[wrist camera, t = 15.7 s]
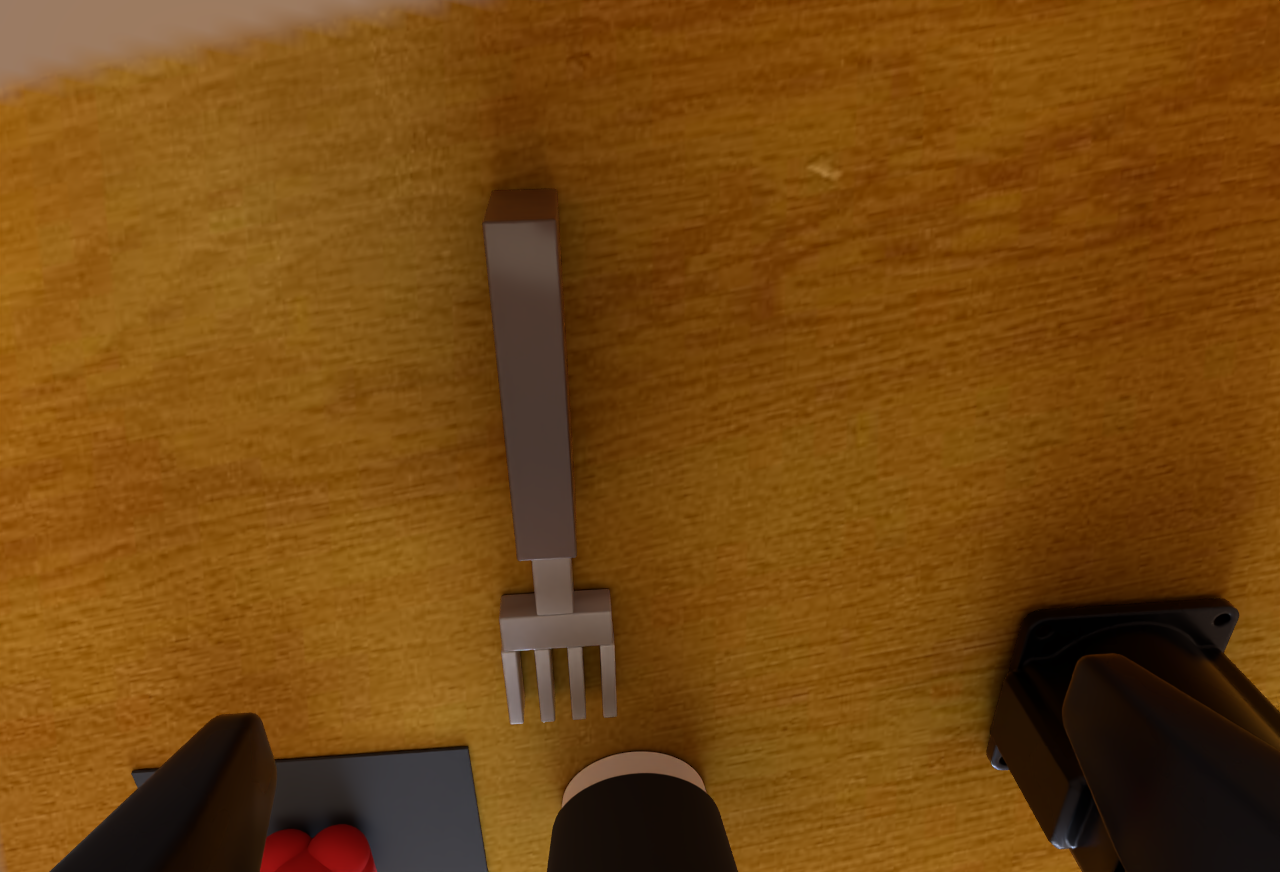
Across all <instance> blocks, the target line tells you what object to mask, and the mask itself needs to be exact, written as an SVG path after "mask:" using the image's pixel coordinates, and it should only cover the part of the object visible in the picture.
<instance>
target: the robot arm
mask: <svg viewBox="0 0 1280 872" xmlns="http://www.w3.org/2000/svg"><path fill="white" fill-rule="evenodd" d="M1238 618H1239V613H1238V610H1237V609H1236V608H1235V607H1234V606H1233V605H1232V604H1231V603H1230V602H1229V601H1227V600H1225V599H1221V598H1215V599H1200V600H1184V601H1169V602H1153V603H1138V604H1122V605H1107V606H1091V607H1076V608H1060V609H1045V610H1038V611H1034V612H1032V613H1030V614H1028V615H1027V616H1026V617H1025V618H1024V620H1023V622H1022V623H1021V627H1020V631H1019V634H1018V638H1017V642H1016V645H1015V649H1014V652H1013V656H1012V660H1011V663H1010V667H1009V671H1008V674H1007V676H1006V678H1005V679H1004V682H1003V686H1002V690H1001V693H1000V697H999V701H998V704H997V708H996V712H995V715H994V719H993V723H992V726H991V730H990V735H991V736H990V740H989V744H988V747H987V757H988V759H989V760H990V762H991V764H992V766H993V767H994V768H995V769H997V770H1010V772H1011V773H1012V775H1013V777H1014V779H1015V781H1016V782H1017V784H1018V786H1019V788H1020V790H1021V792H1022V793H1023V795H1024V797H1025V799H1026V801H1027V802H1028V804H1029V806H1030V808H1031V810H1032V811H1033V813H1034V815H1035V817H1036V819H1037V821H1038V822H1039V824H1040V826H1041V828H1042V830H1043V831H1044V833H1045V835H1046V837H1047V839H1048V840H1049V842H1051V843H1052V844H1053V845H1054V846H1055V847H1056V848H1058V849H1067V848H1069V850H1070V851H1071V853H1072V855H1073V857H1074V858H1075V860H1076V862H1077V864H1078V865H1079V867H1080V869H1081V871H1082V872H1280V712H1279V711H1278V710H1277V709H1276V708H1275V707H1274V706H1273V705H1272V704H1271V703H1270V702H1269V701H1268V699H1267V698H1266V697H1265V696H1264V695H1263V694H1262V693H1261V692H1260V691H1259V690H1258V689H1257V688H1256V687H1255V686H1254V685H1253V684H1252V683H1251V682H1250V681H1249V679H1248V678H1247V677H1246V676H1245V675H1244V674H1243V673H1242V672H1241V671H1240V670H1239V669H1238V668H1237V667H1236V666H1235V665H1234V664H1233V663H1232V662H1231V661H1230V659H1229V658H1228V657H1227V656H1226V655H1225V654H1224V650H1225V648H1226V646H1227V644H1228V641H1229V639H1230V637H1231V634H1232V632H1233V630H1234V628H1235V625H1236V623H1237V621H1238ZM1041 626H1042V627H1041ZM1040 627H1041V628H1040ZM276 783H277V769H276V764H275V760H274V757H273V754H272V751H271V748H270V744H269V741H268V738H267V735H266V732H265V729H264V726H263V723H262V721H261V719H260V717H259V716H258V715H257V714H255V713H238V714H224V715H219V716H216V717H215V718H213V719H211V720H210V721H209V722H208V723H207V724H206V725H205V726H204V727H203V728H201V729H200V730H199V731H198V732H197V733H196V734H195V735H194V736H193V737H192V738H191V739H190V740H189V741H188V742H187V743H186V744H185V745H183V746H182V747H181V748H180V749H179V750H178V751H177V752H176V753H175V754H174V755H173V756H172V757H171V758H170V759H169V760H168V761H166V762H165V763H164V764H163V765H162V766H161V767H160V768H159V769H158V770H157V771H156V772H155V773H154V774H153V775H152V776H151V777H150V778H148V779H147V780H146V781H145V782H144V783H143V784H142V785H141V786H140V787H139V788H138V789H137V790H136V791H135V792H134V793H133V794H131V795H130V796H129V797H128V798H127V799H126V800H125V801H124V802H123V803H122V804H121V805H120V806H119V807H118V808H117V809H116V810H115V811H113V812H112V813H111V814H110V815H109V816H108V817H107V818H106V819H105V820H104V821H103V822H102V823H101V824H100V825H99V826H98V827H96V828H95V829H94V830H93V831H92V832H91V833H90V834H89V835H88V836H87V837H86V838H85V839H84V840H83V841H82V842H81V843H80V844H78V845H77V846H76V847H75V848H74V849H73V850H72V851H71V852H70V853H69V854H68V855H67V856H66V857H65V858H64V859H63V860H61V861H60V862H59V863H58V864H57V865H56V866H55V867H54V868H53V869H52V870H51V871H50V872H260V868H261V863H262V858H263V852H264V847H265V842H266V837H267V832H268V827H269V821H270V816H271V811H272V806H273V801H274V795H275V790H276Z"/></svg>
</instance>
